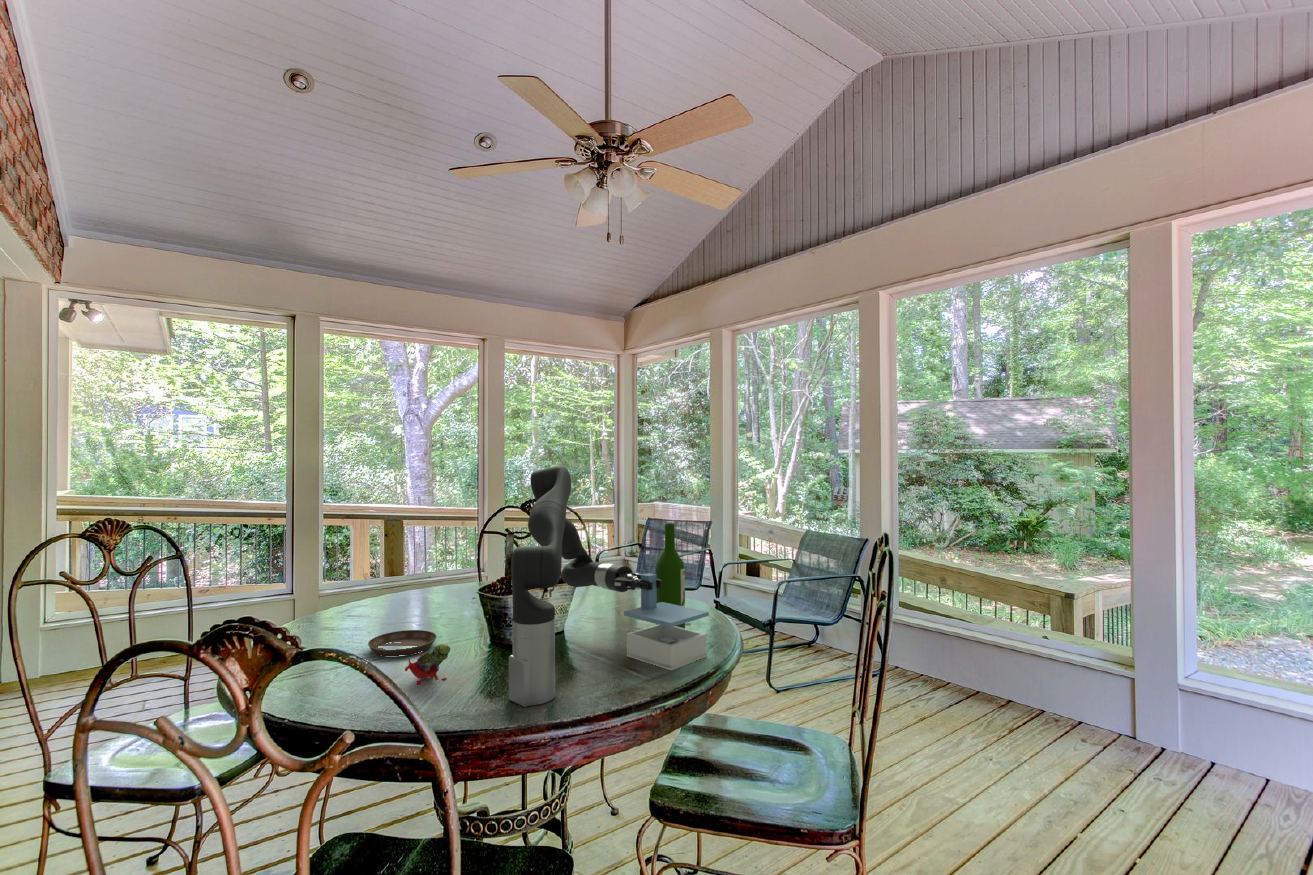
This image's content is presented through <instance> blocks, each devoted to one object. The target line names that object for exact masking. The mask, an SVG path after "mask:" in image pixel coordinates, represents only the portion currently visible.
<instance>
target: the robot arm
mask: <svg viewBox="0 0 1313 875" xmlns="http://www.w3.org/2000/svg"><path fill="white" fill-rule="evenodd" d="M529 479H530V482H529V483H530V487H531V491H532V494H533V497H534V499H535V503H534V504H532V505H533V506H532V507H531V509H530V511H529V512H530V513H529V517H528V522H527V529H528V532H529V534H530V535H531V537H532V539H533V540H535V542H536V543H538V545H540V546H538V545H534V546H518V547H516V548H514V550H513V552H512V555H511V561H510V567H511V568H510V569H511V570H510V572H511V588H512V591H511V593H512V594H511V595H512V654H511V655H509V656H508V700H509V701H511V702H513V703H515V704H517V705H520V706H522V707H524V708H526V707H529V706H537V705H542V704H546V703H548V702H551V701H552V700H553V699H555V697H556V664H555V663H556V633H555V632H556V624H555V623H556V621H555V620H556V609H555V606H554V605H553V604H552V603H551V602H550V601H546V600H543V599H540V598H538V597H536V596H535V595H533V594H531V593H530V591H529V589H530V590H531V589H532V590H533V589H550V588H555V587H556V586H557V585H558V583H559V582H560V579H562V581H563V582H564V583H565V584H566V583H567V584H566V585H568V586H569V585H570V587H572V586H573V588H584V587H590V586H595V587H600V588H601V589H605V590H608V591H613V592H619V593H625V592H628V590H629V591H634V590H641V589H646V590H652V589H653V583H652V582H651V581H645V580H641V575H642V574H643V573H639V572H636V571H635V572H633V570H632V569H631V568H630V566H628V565H623V564H618V563H612V562H609V563H608V562H600V561H594V560H593V559H592V558H591V556H590V555H589V554H588V552H587V551H586V549H585V547H584V546H583V544H582V540H581V538H580V534H579V532H578V529H577V528H576V525H575V524H574V523H573V522H572V521H571V520H569V519H568V518H567V506H568V503H569V499H570V496H571V492H572V477H571V473H570V472H569V470H568V468H567V467H565V466H563V465H555V466H550V467H545V468H542V469H538V470H535V471H533V472H531V474H530V478H529ZM562 559H564V560H568V561H570V560H571V561H570V562H569V563H567V564H566V565H565V566H564V567H563V569H562V562H563V560H562ZM647 573H648V572H646V573H644V574H647ZM661 587H662V581H661V580H659V579H656V588H661Z"/></svg>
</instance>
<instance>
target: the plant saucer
mask: <svg viewBox="0 0 1313 875" xmlns="http://www.w3.org/2000/svg"><path fill="white" fill-rule="evenodd" d="M436 639H437V634H436V633H435V632H432V631H429V630H424V629H423V630H422V629H409V630H408V629H407V630H399V631H392V632H387V633H383V634H380V635H377V636H375V637H373V638H372V639H370V640H369V641H368V642H367V645H368V647H369V649H370V650H371V652H373V653H374V654H375V655H376V656H378V655H382V656H399V655H409V656H412V655H411V654H414V655H416V654H415V653H418V652H421V651H423V652H425V651H427V650H428V649H430V647H431V646H432V645H433V643H434V642H435V641H436ZM389 642H392V643H391V644H390V643H389ZM394 642H401V643H394ZM386 643H388V644H386ZM378 646H417V647H412V648H406V649H396V650H385V649H383V648H378ZM426 649H427V650H426ZM421 653H422V652H421ZM418 654H419V653H418ZM382 656H381V657H382Z"/></svg>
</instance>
